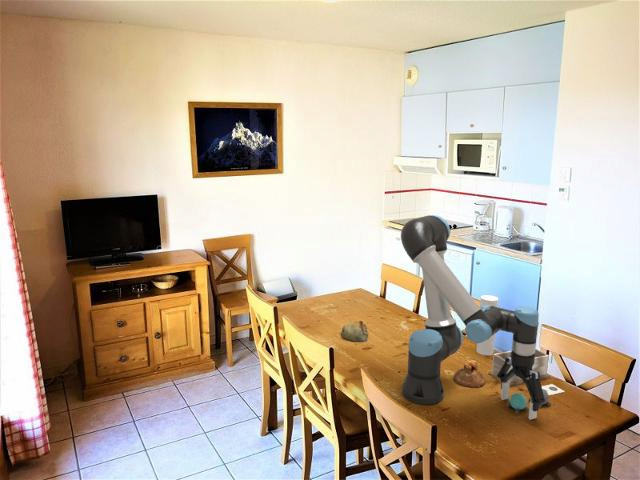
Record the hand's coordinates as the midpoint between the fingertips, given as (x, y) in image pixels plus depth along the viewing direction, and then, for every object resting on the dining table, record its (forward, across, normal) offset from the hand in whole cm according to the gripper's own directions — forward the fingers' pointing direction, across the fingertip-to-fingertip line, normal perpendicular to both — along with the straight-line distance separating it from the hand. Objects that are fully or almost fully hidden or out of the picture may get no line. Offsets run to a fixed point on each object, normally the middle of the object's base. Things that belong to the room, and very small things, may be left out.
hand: (517, 408), depth 177 cm
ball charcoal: (0, 0, -10) cm, 10 cm away
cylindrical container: (0, +42, -20) cm, 47 cm away
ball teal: (0, 0, 0) cm, 0 cm away
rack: (0, +19, -18) cm, 26 cm away
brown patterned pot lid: (0, +23, +3) cm, 23 cm away
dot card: (0, +6, -20) cm, 21 cm away
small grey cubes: (0, 0, -5) cm, 5 cm away
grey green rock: (0, +77, +27) cm, 82 cm away
